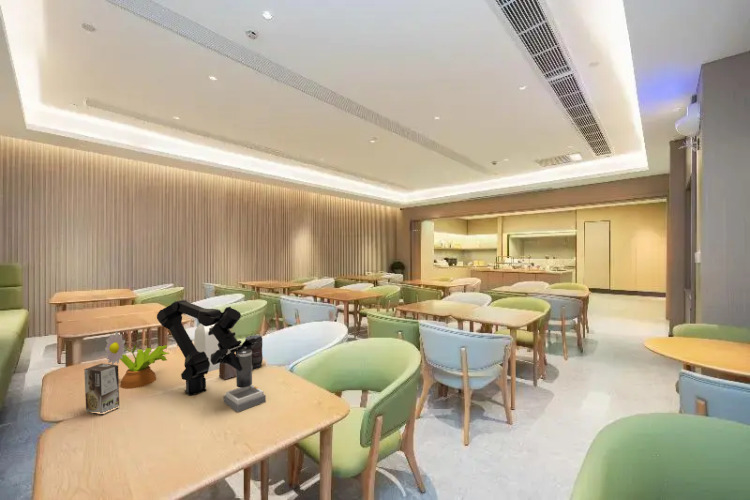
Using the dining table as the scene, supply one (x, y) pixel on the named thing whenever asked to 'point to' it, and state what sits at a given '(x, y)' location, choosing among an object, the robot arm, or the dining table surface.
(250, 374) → the dark tapered cup
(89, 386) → the coffee box
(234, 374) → the weathered brick
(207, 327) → the milk
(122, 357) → the decorative plant
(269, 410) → the dining table surface
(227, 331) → the robot arm
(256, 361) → the camera lens
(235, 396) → the shallow square tray
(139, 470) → the dining table surface
